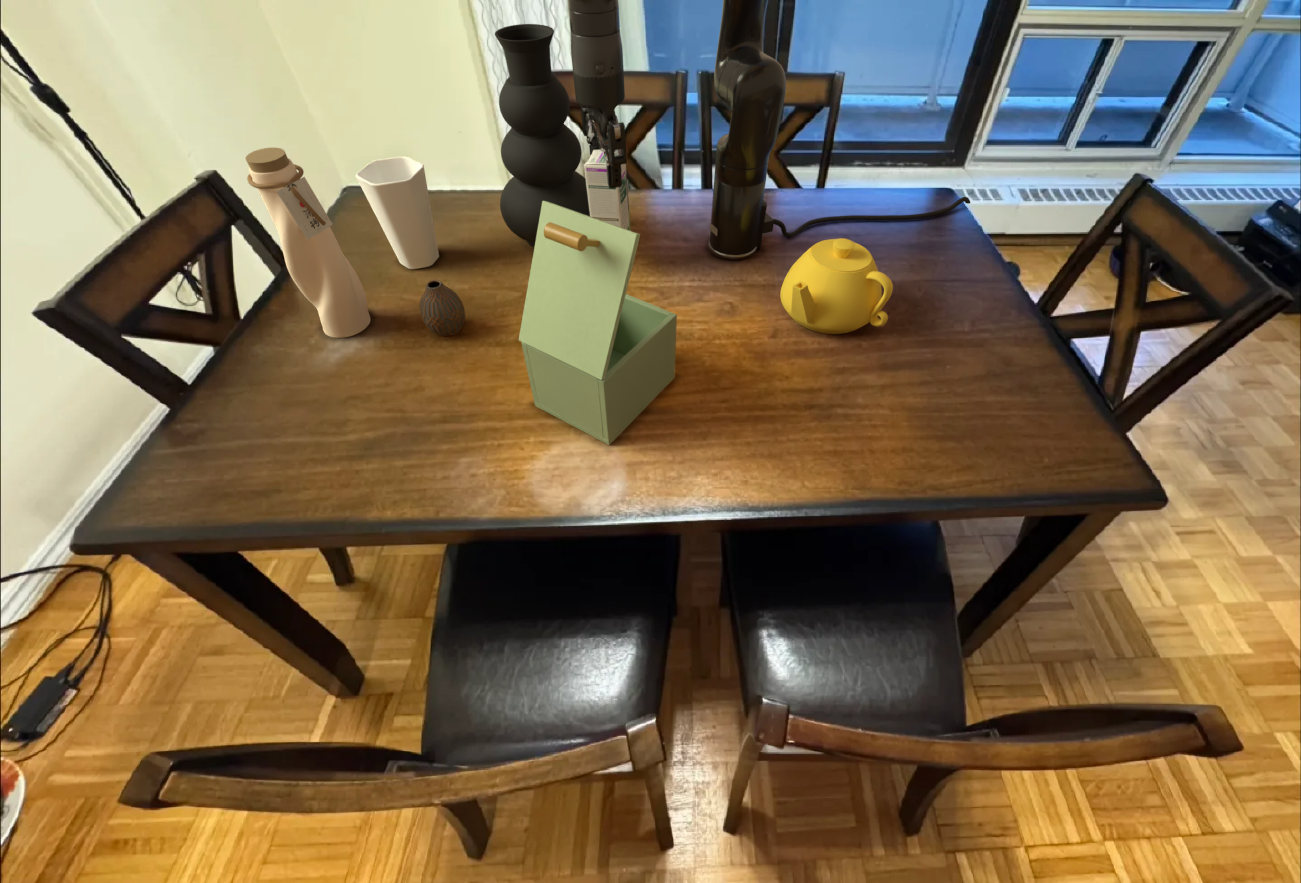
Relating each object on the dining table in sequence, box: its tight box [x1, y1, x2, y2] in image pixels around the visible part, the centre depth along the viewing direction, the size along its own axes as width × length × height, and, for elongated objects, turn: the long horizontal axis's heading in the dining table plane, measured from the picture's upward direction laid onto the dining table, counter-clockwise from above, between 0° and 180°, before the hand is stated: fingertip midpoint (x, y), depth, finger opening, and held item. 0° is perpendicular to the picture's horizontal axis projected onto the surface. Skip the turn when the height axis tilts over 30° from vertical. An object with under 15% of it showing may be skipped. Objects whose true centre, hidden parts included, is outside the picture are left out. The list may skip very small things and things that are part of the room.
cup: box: [355, 155, 440, 270], centre depth 107 cm, size 11×10×17 cm
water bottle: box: [245, 147, 371, 339], centre depth 89 cm, size 10×9×28 cm
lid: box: [518, 201, 641, 380], centre depth 69 cm, size 18×14×5 cm
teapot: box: [779, 237, 894, 335], centre depth 96 cm, size 20×19×13 cm
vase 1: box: [419, 279, 466, 337], centre depth 95 cm, size 7×7×9 cm
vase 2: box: [494, 23, 590, 248], centre depth 105 cm, size 18×18×35 cm
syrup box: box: [583, 150, 632, 231], centre depth 102 cm, size 6×6×14 cm
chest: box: [521, 293, 678, 446], centre depth 84 cm, size 17×14×12 cm
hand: (606, 176), depth 99 cm, fingers closed on syrup box, 7 cm apart
